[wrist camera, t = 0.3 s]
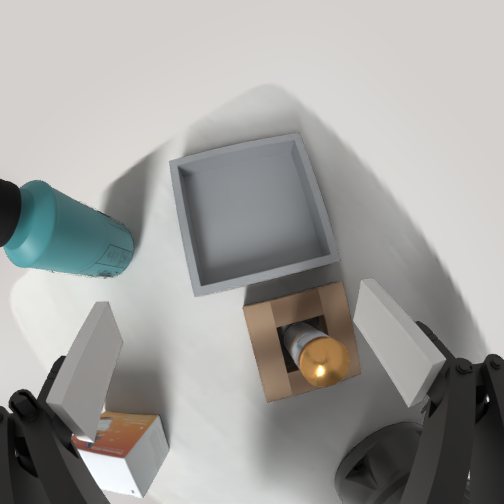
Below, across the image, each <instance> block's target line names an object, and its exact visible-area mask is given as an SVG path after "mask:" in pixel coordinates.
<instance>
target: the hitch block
mask: <svg viewBox="0 0 504 504" xmlns="http://www.w3.org/2000/svg"><path fill="white" fill-rule="evenodd" d="M243 312H244V316H245V320H246V324H247V328H248V331H249V335H250V339H251V343H252V347H253V351H254V355H255V359H256V362H257V366H258V370H259V374H260V378H261V381H262V385H263V389H264V393H265V396H266V400H267V402H272V401H276V400H280V399H284V398H288V397H291V396H295V395H299V394H302V393H306V392H309V391H312V390H316V389H319V388H322V387H317V386H314V385H312V384H310V383H309V382H308V381H307V380H306V379H305V377H304V376H303V374H302V372H301V371H300V369H299V368H298V366H297V365H296V363H291V364H288V365H285V362H284V358H283V354H282V350H281V346H280V342H279V338H278V333H277V329H276V328H277V327H280V326H284V325H288V324H292V323H295V322H299V321H303V320H306V319H310V318H313V317H317V316H318V319H319V324H320V328H321V332H323V333H324V334H326V335H328V336H330V337H332V338H333V339H335V340H337V341H339V342H340V343H342V344H343V345H344V346H345V347H346V348H347V350H348V352H349V354H350V366H349V369H348V372H347V373H346V375H345V376H344V378H343V379H342V380H340V381H343V380H346V379H349V378H351V377H354V376H357V375H360V374H361V369H360V363H359V357H358V352H357V346H356V341H355V336H354V331H353V326H352V321H351V317H350V312H349V308H348V303H347V299H346V294H345V290H344V286H343V282H342V281H341V282H333V283H329V284H326V285H322V286H319V287H315V288H312V289H308V290H304V291H301V292H297V293H293V294H289V295H286V296H282V297H278V298H274V299H270V300H266V301H262V302H258V303H254V304H250V305H246V306H243ZM340 381H339V382H340Z"/></svg>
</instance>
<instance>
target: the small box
mask: <svg viewBox="0 0 504 504" xmlns="http://www.w3.org/2000/svg"><path fill="white" fill-rule="evenodd" d="M71 439H72V441H73V442H74V443H75V445H76V447H77V449H78V451H79V453H80V455H81V457H82V459H83V461H84V463H85V464H86V466H87V468H88V470H89V471H90V473H91V475H92V476H93V478H94V480H95V481H96V483H97V484H98V486H99V488H100V489H104V490H108V491H112V492H117V493H121V494H126V495H130V496H135V497H139V498H144V496H145V494H146V493H147V491H148V489H149V487H150V485H151V484H152V482H153V480H154V478H155V476H156V474H157V472H158V471H159V469H160V467H161V465H162V463H163V461H164V460H165V458H166V456H167V454H168V452H169V448H168V444H167V441H166V438H165V434H164V431H163V427H162V424H161V420H160V416H159V415H141V414H128V413H118V412H109V411H105V412H104V413H102V414H101V416H100V420H99V424H98V428H97V432H96V436H95V441H94V443H93V442H87V441H82V440H79V439H78V438H77V437H76V436H75V435H73V436H72V437H71Z"/></svg>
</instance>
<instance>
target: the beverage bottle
mask: <svg viewBox="0 0 504 504" xmlns="http://www.w3.org/2000/svg"><path fill="white" fill-rule="evenodd" d="M95 209H96V208H95ZM119 222H120V221H119ZM129 232H130V231H128V230H127V228H125V227H124V226H123V225H122V224H120V223H118V222H116V220H113V219H112V218H111V217H109V216H107V214H106V215H105V214H103V213H101V212H100V211H96V210H94V209H93V208H91V207H89V206H86V205H84V204H82V203H80V202H78V201H76V200H74V199H72V198H70V197H69V196H67V195H65V194H63V193H61V192H60V191H58V190H56V189H54V188H52V187H51V186H50V185H49V184H47V183H46V182H44V181H41V180H34V181H30V182H28V183H26V184H24V185H23V186H22V187H20V188H18V186H17V185H15V184H13V183H12V182H9V181H5V180H2V179H0V247H2V246H3V247H4V250H5V253H6V255H7V257H8V258H9V260H10V261H11V262H12V263H13V264H14V265H16V266H18V267H21V268H36V269H43V270H47V271H48V270H51V271H52V273H54V272H53V271H56V272H63V273H72V274H81V276H82V275H88V276H93V277H94V278H96V277H97V276H100V277H104V278H105V277H110V278H112V277H113V276H116V275H118V274H119V275H120V273H122V272H123V271H124V270H125V269H126V268H127V267H128V265H129V263H130V261H131V259H132V256H133V248H134V247H133V240H132V237H131V235H130V233H129ZM66 275H70V274H66ZM76 276H78V275H76ZM95 276H96V277H95ZM85 277H86V276H85ZM113 278H114V277H113ZM107 279H108V278H107Z"/></svg>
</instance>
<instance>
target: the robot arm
mask: <svg viewBox="0 0 504 504" xmlns="http://www.w3.org/2000/svg"><path fill="white" fill-rule="evenodd" d="M353 321H354V323H355V324H356V326H357V327H358V329H359V330H360V332H361V333H362V335H363V336H364V338H365V339H366V341H367V342H368V344H369V345H370V347H371V349H372V350H373V352H374V353H375V355H376V356H377V358H378V359H379V361H380V362H381V364H382V366H383V367H384V369H385V370H386V372H387V373H388V375H389V377H390V378H391V380H392V381H393V383H394V385H395V386H396V388H397V389H398V391H399V393H400V394H401V396H402V398H403V399H404V401H405V403H406V404H407V406H408V408H409V407H411V406H413V405H416V404H418V403H420V402H422V400H423V399H424V397H425V396H426V394H428V396H429V397H430V399H429V401H428V402H427V404H426V405H425V406H424V408H423V409H422V412H421V413H424V411H425V410H426V414H425V419H424V424H423V426H421V425H420V424H417V423H413V422H403V423H398V424H394V425H391V426H388V427H386V428H383V429H381V430H379V431H377V432H375V433H374V434H372V435H370V436H369V437H367V438H366V439H365V440H363V441H362V442H361V443H360V444H358V445H357V446H356V447H355V448H354V449H353V450H352V451H351V452H350V453H349V454H348V455H347V456H346V458H345V459H344V460H343V462H342V463H341V465H340V466H339V468H338V470H337V473H336V476H335V489H336V491H337V493H338V495H339V498H340V499H341V501H342V502H343V503H344V504H504V360H503V359H502V358H501V357H500V356H498V355H496V354H489V355H488V356H487V357H486V358H485V360H484V362H483V363H479V364H472V363H471V362H470V361H468V360H466V359H464V358H457V359H456V358H455V357H454V356H453V355H452V354H451V352H450V351H449V350H448V349H447V348H446V347H445V346H444V344H443V343H442V342H441V341H440V340H438V338H437V337H436V335H435V334H433V332H432V331H431V330H430V329H429V328H428V327H427V326H426V325H424V324H423V323H421V322H419V321H417V322H414V321H413V320H412V319H411V318H410V317H409V316H408V314H407V313H406V312H405V311H404V310H403V309H402V308H401V307H400V306H399V305H398V304H397V303H396V301H395V300H394V299H393V298H392V297H391V296H390V295H389V294H388V293H387V292H386V291H385V290H384V289H383V288H382V287H381V286H380V285H379V284H378V283H377V282H376V281H375V280H374V279H373V278H370V279H363V280H361V283H360V289H359V294H358V300H357V305H356V310H355V315H354V319H353ZM122 345H123V340H122V338H121V335H120V332H119V330H118V327H117V324H116V322H115V319H114V316H113V313H112V310H111V307H110V304H109V302H96V303H95V305H94V306H93V308H92V310H91V312H90V313H89V315H88V317H87V318H86V320H85V322H84V324H83V326H82V327H81V329H80V331H79V333H78V335H77V337H76V339H75V340H74V342H73V344H72V346H71V348H70V350H69V352H68V354H67V356H61V357H60V358H59V359H58V360H57V361H56V362H55V363H54V364H53V366H52V368H51V370H50V373H49V374H48V376H47V379H46V381H45V383H44V385H43V387H42V389H41V391H40V394H39V396H38V398H37V400H36V398H35V397H34V396H33V395H32V393H31V392H30V391H28V390H24V389H21V390H18V391H17V392H15V393H14V394H13V395H12V396H11V397H10V400H9V408H10V409H11V410H12V412H13V413H9V412H8V411H7V410H6V409H5V408H4V407H2V406H0V504H110V502H109V501H108V500H107V498H106V497H105V495H104V494H103V492H102V491H101V489H100V488H99V486H98V484H97V483H96V481H95V480H94V478H93V476H92V475H91V473H90V471H89V470H88V468H87V466H86V464H85V463H84V461H83V459H82V457H81V455H80V453H79V451H78V449H77V447H76V445H75V443H74V442H73V441H72V439H71V437H72V434H74V435H75V436H76V437H77V438H78V439H79V440H82V441H87V442H93V443H94V441H95V436H96V432H97V428H98V424H99V420H100V416H101V413H102V409H103V405H104V402H105V398H106V395H107V391H108V388H109V385H110V381H111V378H112V375H113V372H114V368H115V365H116V362H117V359H118V356H119V353H120V350H121V347H122ZM487 396H488V397H489V402H487V400H486V398H487ZM15 451H16V456H15ZM469 471H470V479H469V478H468V474H469Z"/></svg>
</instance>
